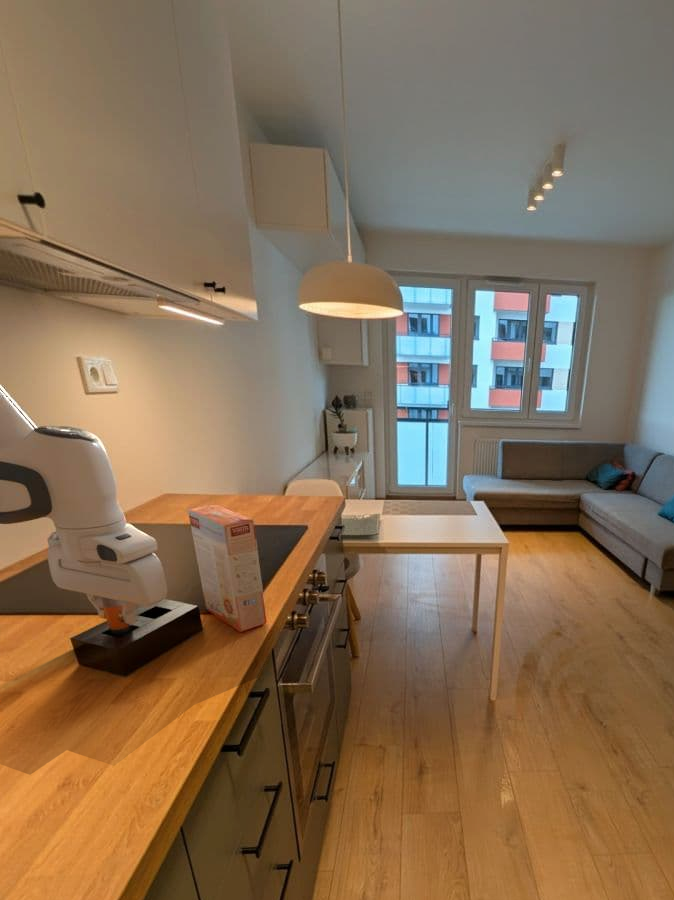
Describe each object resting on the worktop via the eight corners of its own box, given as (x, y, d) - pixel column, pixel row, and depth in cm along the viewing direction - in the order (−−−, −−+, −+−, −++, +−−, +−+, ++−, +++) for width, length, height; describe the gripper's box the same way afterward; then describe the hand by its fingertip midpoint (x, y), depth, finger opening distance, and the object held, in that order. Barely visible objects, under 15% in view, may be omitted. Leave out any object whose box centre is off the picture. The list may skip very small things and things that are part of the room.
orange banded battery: (110, 648, 84) (87, 572, 78) (126, 640, 87) (106, 565, 81) (125, 652, 83) (103, 575, 78) (140, 643, 86) (121, 568, 80)
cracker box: (269, 623, 98) (255, 518, 89) (239, 634, 94) (221, 525, 85) (233, 601, 106) (217, 502, 97) (205, 610, 102) (185, 508, 93)
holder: (78, 664, 83) (69, 638, 81) (161, 620, 97) (155, 596, 95) (125, 677, 80) (117, 650, 78) (203, 629, 95) (198, 605, 93)
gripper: (24, 535, 77) (52, 616, 83) (129, 554, 72) (150, 639, 78) (65, 524, 83) (88, 601, 88) (165, 541, 77) (182, 621, 83)
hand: (118, 619), depth 83 cm, fingers closed on orange banded battery, 3 cm apart
